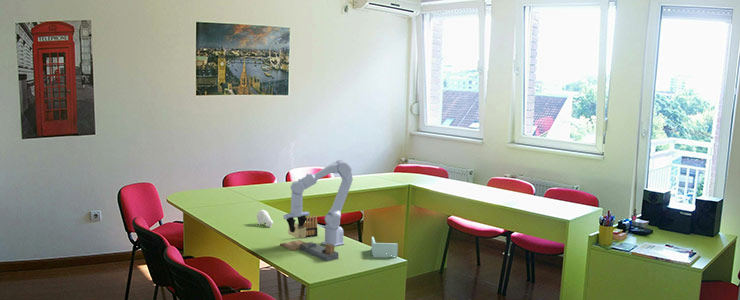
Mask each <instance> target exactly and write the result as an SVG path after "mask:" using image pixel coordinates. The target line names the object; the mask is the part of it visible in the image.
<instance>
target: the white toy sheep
mask: <svg viewBox="0 0 740 300" xmlns="http://www.w3.org/2000/svg"><path fill="white" fill-rule="evenodd" d="M256 218H257V222H258V224H259V225H258V226H260V224H261V225H262V224H264V223H266V224H265V226H266V227H269V228H271V227H272V226H273V224H274V221H273V220H272V219H271V216H270V215H269V212H268V211H267V210H265V209H260V210H258V212H257V214H256Z"/></svg>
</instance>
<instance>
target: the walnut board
mask: <svg viewBox="0 0 740 300" xmlns="http://www.w3.org/2000/svg"><path fill="white" fill-rule="evenodd" d="M304 243H306V242H305V241H303V240H301V239H299V240H292V241H289V242H288V241H287V242H283V243H282V242H281V243H279V246H281V247H284V248H285V249H288V250H290V251H296V250H300V244H304Z"/></svg>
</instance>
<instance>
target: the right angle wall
mask: <svg viewBox="0 0 740 300" xmlns="http://www.w3.org/2000/svg"><path fill="white" fill-rule="evenodd" d="M370 244H371V245H370V248H371V247H372V248H371V249H370V251H371V255H373V256H372V258H388V257H392V258H393V256H395V257H394V258H395V259H396V257H397V258H398V250H399V249H398V247H399V245H398V243H397V242H396V243H394V242H393V243H390V242H376V240H375V237H374V236H371V243H370ZM386 253H387V254H386ZM391 255H392V256H391Z"/></svg>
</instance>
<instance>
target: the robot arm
mask: <svg viewBox="0 0 740 300" xmlns="http://www.w3.org/2000/svg"><path fill="white" fill-rule="evenodd" d="M330 174H339V176H340V178H341V182H340V185H339V187H338V190H337V193H336V195H335V198H334V201H333V204H332V206H331V208H330V209H329V211H328V212H327V214H326V215H325V216H324V222H325V226H324V241H322V242H320V243H321V244H322V245H323V246H325V244H328V243H330V244H332V245H334V247H336V246H340V245H344V244H345V242H344V232H345V231H344V229H343V228H342V226H340V225H341V217H342V210H343V206H344V204H345V202H346V200H347V197H348V193H349V191H350V189H351V186H352V183H353V173H352V168H351V166H350V164H349V163H348V162H345V160H342V159H337V160H336V161H334V162H331V163H330V164H328V165H327V166H325V167H324V168H322V169H321V170H318V171H317V172H316V173H314V174H313V173H306V174H305V176H304V177H302V178H298V179H297V180H296V181H295V180H294V181H293V182H292V183H291V184H290V190H291V198H290V199H291V200H290V212H289V213H286V214H283V219H284V220H285V221H286V222H287V224H288V229H289V228H290V232H294V224H295V223H296V219H295V218H297V224H299V225H301V226H303V225H304V223H306V219H307V217H306V216H308V217H309V216H310V212H309V211H303V199H304V198H303V197H304V196H303V194H304V191H305V190H307V189H309V188H310V187H312V186H314V185H316V184H317V181H318V180H321V179H322V178H324V177H325V176H328V175H330Z"/></svg>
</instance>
